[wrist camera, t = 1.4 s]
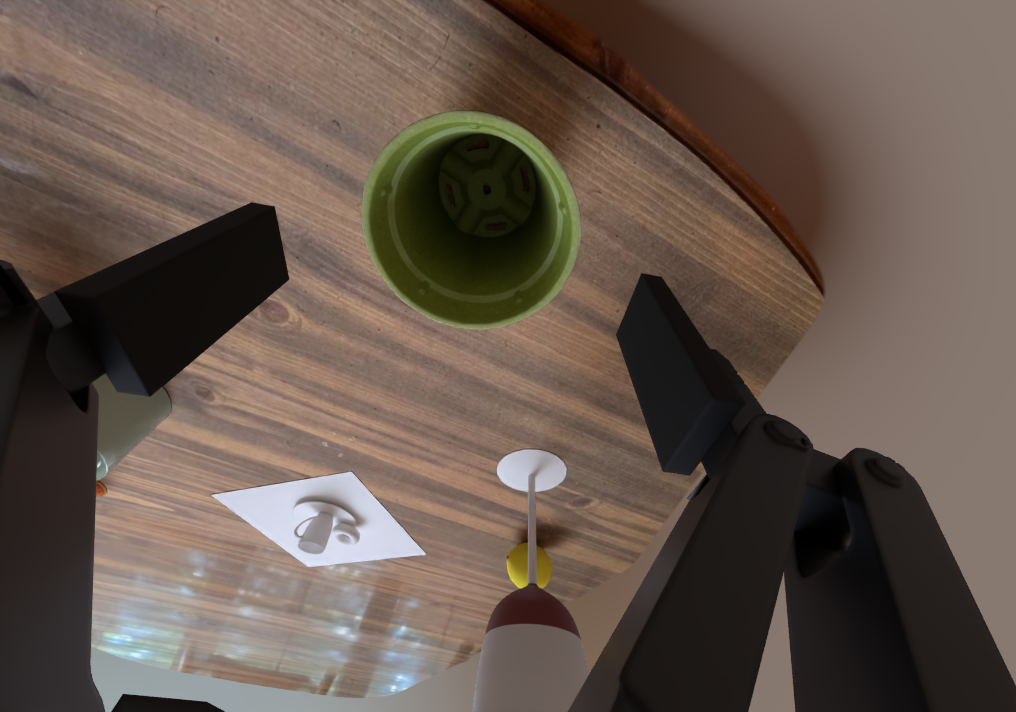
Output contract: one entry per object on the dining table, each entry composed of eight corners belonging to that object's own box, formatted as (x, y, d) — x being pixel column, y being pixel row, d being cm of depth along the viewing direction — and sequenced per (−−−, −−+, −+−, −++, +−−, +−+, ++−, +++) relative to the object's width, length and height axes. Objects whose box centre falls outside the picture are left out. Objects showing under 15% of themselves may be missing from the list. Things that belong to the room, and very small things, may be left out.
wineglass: (546, 436, 37) (560, 715, 21) (582, 483, 41) (616, 743, 25) (478, 459, 39) (445, 722, 23) (519, 501, 44) (513, 746, 28)
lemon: (561, 547, 50) (564, 591, 46) (534, 560, 53) (535, 603, 48) (522, 528, 47) (522, 573, 43) (496, 542, 50) (493, 587, 46)
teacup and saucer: (372, 530, 49) (361, 563, 46) (321, 537, 51) (307, 568, 48) (335, 494, 44) (320, 527, 41) (280, 502, 46) (262, 535, 43)
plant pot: (574, 245, 25) (592, 312, 18) (441, 273, 27) (411, 344, 20) (551, 74, 19) (563, 76, 13) (386, 123, 21) (317, 149, 14)
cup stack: (22, 334, 32) (-318, 510, 19) (146, 353, 32) (-102, 535, 20) (83, 414, 38) (-142, 589, 25) (187, 429, 38) (17, 606, 26)
